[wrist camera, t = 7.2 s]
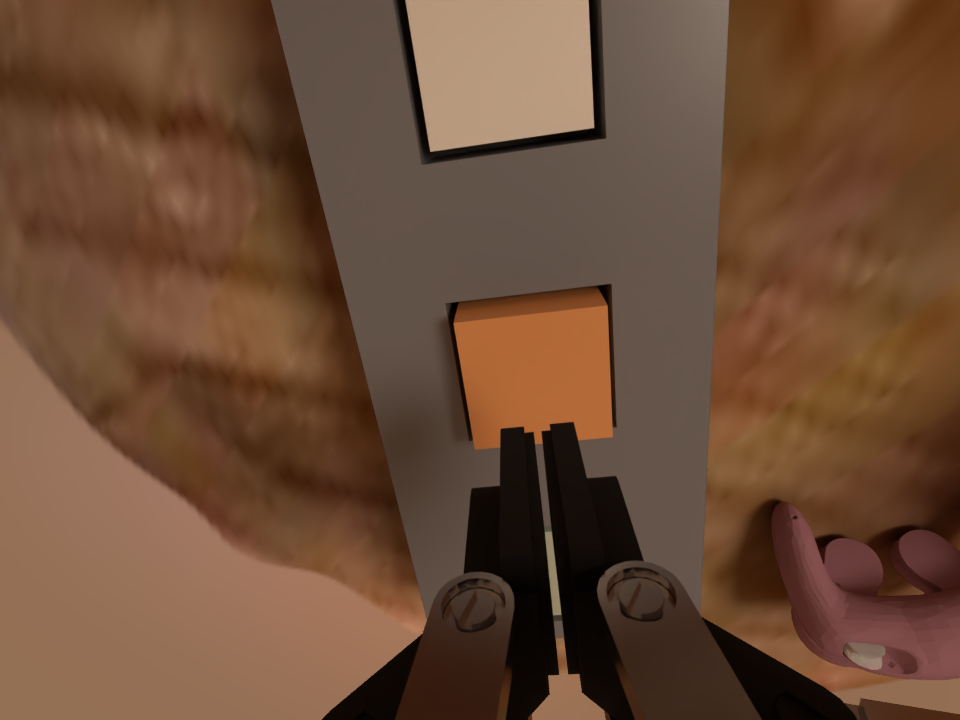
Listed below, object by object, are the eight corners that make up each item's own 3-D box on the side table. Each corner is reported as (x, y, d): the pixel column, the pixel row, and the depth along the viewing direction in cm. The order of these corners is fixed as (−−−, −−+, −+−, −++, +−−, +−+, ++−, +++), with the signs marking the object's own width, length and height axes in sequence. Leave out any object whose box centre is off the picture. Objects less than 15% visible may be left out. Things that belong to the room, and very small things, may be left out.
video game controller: (747, 533, 27) (807, 694, 23) (767, 496, 24) (842, 678, 19) (958, 509, 26) (1064, 674, 22) (1012, 466, 22) (1152, 652, 18)
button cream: (416, -18, 15) (398, -45, 13) (570, -45, 15) (584, -80, 12) (442, 146, 17) (430, 151, 14) (579, 125, 17) (594, 128, 14)
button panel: (312, -38, 16) (248, -88, 12) (676, -105, 15) (738, -185, 11) (444, 563, 27) (433, 644, 23) (668, 548, 26) (699, 630, 22)
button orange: (461, 291, 18) (453, 323, 15) (591, 276, 18) (607, 305, 15) (479, 404, 20) (475, 449, 17) (597, 392, 20) (612, 437, 17)
